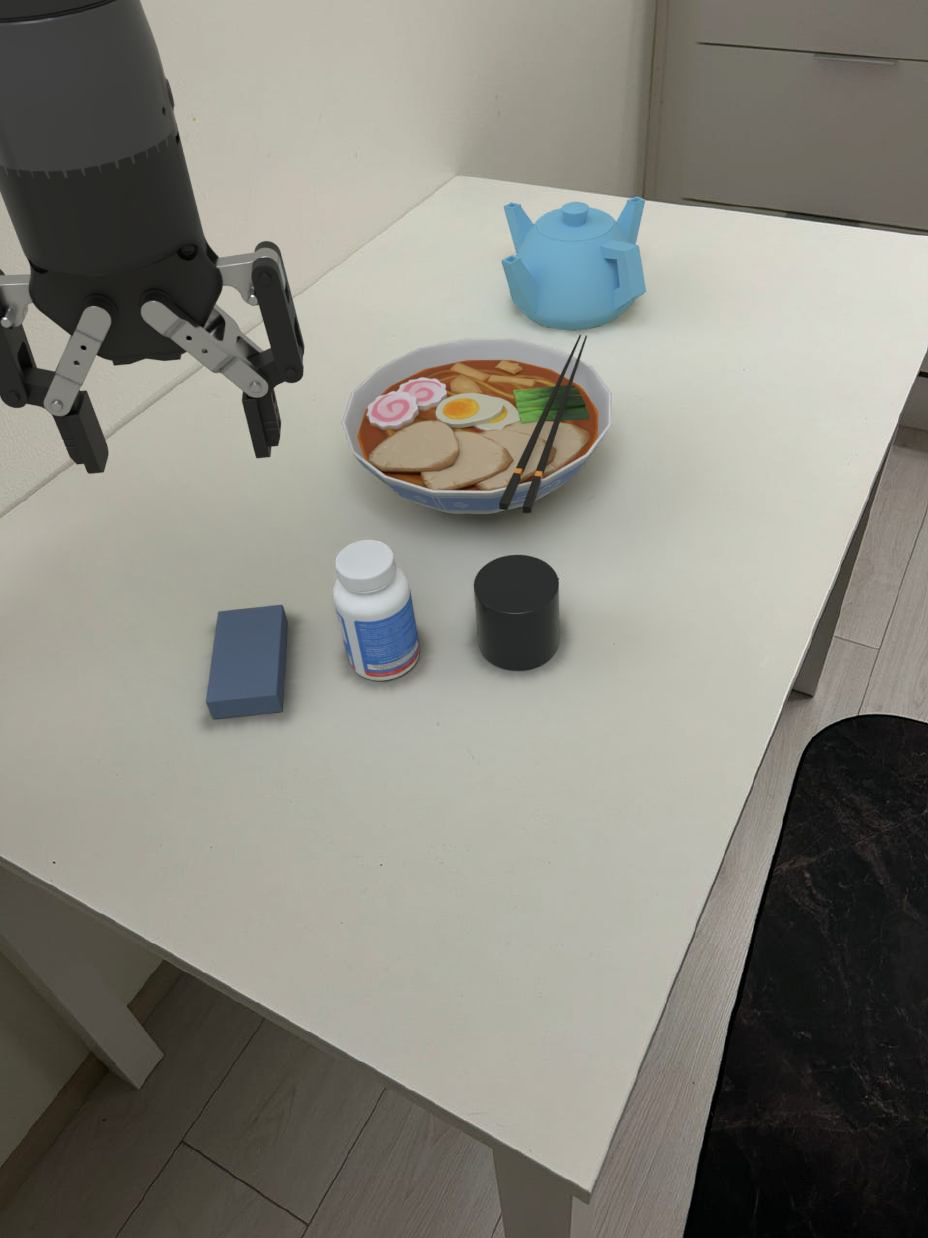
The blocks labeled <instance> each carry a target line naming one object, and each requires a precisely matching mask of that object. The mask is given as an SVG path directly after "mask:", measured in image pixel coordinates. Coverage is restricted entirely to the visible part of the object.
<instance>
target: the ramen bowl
mask: <svg viewBox="0 0 928 1238" xmlns="http://www.w3.org/2000/svg"><path fill="white" fill-rule="evenodd" d="M581 337H582V334H579V335H578V337H577V339H576V342H575V343H574V345H573V348H572V350H571V352H570V353H568V352H566V351H564V350H563V349H561V348H558V347H555V346H551V345H547V344H543V343H538V342H533V341H528V340H525V339H519V338H516V337H479V338H478V337H474V338H473V337H469V338H467V337H465V338H460V339H456V340H451V341H446V342H441V343H437V344H431V345H426V346H422V347H418V348H416V349H413V350H411V351H409V352H407V353H405V354H403V355H401V356H399V357H397V358H395V359H392V360H390V361H389V362H386V363H384V364H383V365H380V366H378V367H377V368H376V369H374V371H373V372H372V373H370V375H368V376H367V377H366V378H365V379H364V380H363V381H362V382H361V383H360V384H359V385H358V386H357V387H355V389H353V391H351V393H350V395H349V397H348V401H347V403H346V407H345V410H344V413H343V416H342V418H341V422H340V423H341V426H342V429H343V433H344V435H345V438H346V441H347V444H348V447H349V450H350V453H351V454H352V455H353V457H354V458H355V459H356V460H357V461H358V462H359V463H360V465H361V466H362V467H364V468H365V469H366V470H367V471H369V472H370V473H371V474H372V475H374V476H375V477H376V478H377V479H379V480H380V481H381V482H382V483H383V484H385V485H386V486H387V487H389V488H390V489H391V490H393V491H394V492H396V493H397V494H398V496H400V497H402V498H404V499H406V500H407V501H409V502H411V503H414V504H417V505H419V506H423V507H426V508H429V509H433V510H436V511H438V512H439V511H440V512H442V513H445V514H455V515H456V514H457V515H458V514H460V515H461V514H462V515H465V514H466V515H492V514H495V513H496V514H498V513H500V512H505V511H509V510H513V509H519V508H521V507H522V514H529V515H531V514H532V512H533V508H534V506H535V502H537V501H538V500H540V499H542V498H543V497H545V496H548V494H550V493H552V492H554V491H556V490H558V489H559V488H560V487H562V486H563V485H565V484H566V483H567V482H569V481H570V480H571V479H572V478H573V477H574V476H575V475H576V474H577V473H578V472H580V470H581V469H582V467H583V466H584V465H585V463H587V461H588V460H589V458H590V457H591V455H593V453H594V451H595V450H596V449H597V448H598V446H599V445H600V444H601V442H602V441H603V440H604V438H605V436H606V435H607V434H608V432H609V430H610V429H611V427H612V426H613V393H612V392H611V390H610V389H609V387H608V386H607V385H606V383H605V382H604V380H603V379H602V378H601V376H600V375H599V373H598V372H597V371H596V369H595V368H594V366H592V365H590V364H588V363H586V362H585V361H583V360H581V357H582V354H583V351H584V347H585V344H586V341H587V338H588V335H585V336H584V339H583V341H582V344H581V347H580V349H579V352H578V355H577V357H575V356H574V354H575V352H576V349H577V347H578V345H579V342H580V340H581Z"/></svg>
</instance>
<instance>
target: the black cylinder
mask: <svg viewBox="0 0 928 1238" xmlns="http://www.w3.org/2000/svg"><path fill="white" fill-rule="evenodd" d="M474 577H475V578H474V580H473V595H474V606H475V616H476V617H475V618H476V619H475V620H476V631H477V642H478V647H479V651H480V653H481V654H482V656H483V657H484V658H485V659H486V661H488V662H489V663H490V664H492V665H494V666H496V667H497V668H500V669H503V670H507V671H515V672H516V671H517V672H520V671H521V672H523V671H528V670H533V669H537V668H538V667H541V666H543V665H544V664H546V663H548V661H550V659H552V658H553V656H555V654H556V653H557V650H558V647H559V645H560V580H559V577H558V574H557V572H556V571H555V569H554V568H553V567H552V566H551V565H550V564H549V563H547V562H546V561H545V560H542V559H540V558H538V557H535V556H531V555H526V554H508V555H504V556H500V557H497V558H494V559H493V560H490V561H489V562H487V563H486V564H485V565H483V566H482V567H481V568H480V569H479V570H478V572H477V573H476V576H474Z"/></svg>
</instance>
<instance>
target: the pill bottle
mask: <svg viewBox="0 0 928 1238" xmlns="http://www.w3.org/2000/svg"><path fill="white" fill-rule="evenodd" d="M334 563H335V564H334V565H335V570H336V577H337V578H336V580H335V583H334V585H333V589H332V599H333V605H334V608H335V612H336V617H337V621H338V625H339V629H340V633H341V636H342V640H343V641H342V642H343V645H344V649H345V653H346V656H347V661H348V662H349V664H350V666H351V668H352V670H353V671H354V672H355V673H356V674H358V675H359V676H360V677H363V678H365V679H366V680H371V681H377V682H378V681H380V682H382V681H389V680H393V679H397V678H399V677H401V676H403V675H405V674H406V673H408V672H409V671H410V670H411V669H412V668H413V667H414V666H415V665H416V664H417V662H418V660H419V657H420V651H421V650H420V640H419V633H418V629H417V623H416V617H415V616H416V615H415V609H414V604H413V598H412V590H411V587H410V582H409V579H408V577H407V575H406V574H405V572H404V571H403V570H402V569H401V568H400V567H398V566H397V563H396V560H395V555H394V552H393V550H392V548H391V547H390V546H389V545H388V544H386V543H384V542H382V541H381V540H376V539H362V540H361V539H360V540H357V541H354V542H351V543H349V544H348V545H346V546H344V547H343V548H342V549H341V550H340V551H339V552H338V553H337V555H336V558H335V561H334Z"/></svg>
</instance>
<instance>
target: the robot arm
mask: <svg viewBox="0 0 928 1238" xmlns="http://www.w3.org/2000/svg"><path fill="white" fill-rule="evenodd" d="M142 4H143V3H142V2H141V0H0V195H1V198H2V201H3V203H4V206H5V208H6V211H7V213H8V216H9V218H10V222H11V224H12V226H13V230H14V232H15V234H16V237H17V239H18V243H19V244H20V248H21V249H22V252H23V254H24V256H25V258H26V260H27V262H28V264H29V270H30V274H26V273H25V274H6V273H5V272H4V271H3V270H2V269H1V268H0V400H1V401H2V402H3V403H4V404H5V405H6V406H7V407H10V408H13V409H21V408H24V407H25V406H26V405H30V406H36V407H39V408H43V409H44V410H46V411H47V412H48V413H49V414H50V415H51V416H52V418H53V420H54V422H55V425H56V429H57V430H58V432H59V435H60V437H61V439H62V441H63V444H64V446H65V448H66V452H67V454H68V456H69V459H71V460H72V461H73V462H74V463H75V464H76V465H84V468H85V471H86V473H87V474H88V475H92V474H102V473H103V474H104V473H105V470H106V466H107V463H108V460H109V459H108V458H109V446H108V443H107V440H106V437H105V435H104V431H103V430H102V427H101V424H100V422H99V419H98V416H97V413H96V411H95V408H94V405H93V403H92V400H91V397H90V395H89V393H88V390H86V389H85V390H81V387H82V386H83V384H84V383H85V380H86V378H87V376H88V374H89V372H90V370H91V367H92V366H93V363H94V361H95V359H96V357H99V358H101V359H103V360H107V361H110V362H112V364H113V366H114V367H115V366H125V365H127V366H128V365H132V364H135V363H138V362H140V361H143V360H153V361H159V362H160V361H161V362H171V361H180V360H181V359H182V355H184V354H186V353H188V354H189V355H190V356H191V357H193V358H194V359H195V360H196V361H198V362H199V363H200V364H201V365H202V366H203V367H205V368H206V369H207V370H209V371H210V372H211V373H213V374H221V375H223V377H225V378H226V379H228V380H229V382H231V383H233V384H234V385H235V386H236V387H237V388H239V389H240V391H242V395H241V403H242V404H241V405H242V408H243V412H244V415H245V419H246V424H247V427H248V428H247V429H248V432H249V436H250V440H251V443H252V448H253V452H254V456H255V458H256V459H267V458H271V457H272V455H271V454H272V447H273V448H274V447H279V444H280V440H281V435H282V434H281V431H282V419H281V418H282V417H281V414H280V410H279V406H278V400H277V395H276V391H275V388H276V387H277V386H278V385H281V384H283V383H287V384H296V383H298V382H300V381H301V380H302V379H303V377H304V368H305V367H304V356H305V342H304V338H303V335H302V329H301V326H300V322H299V318H298V315H297V311H296V307H295V303H294V298H293V295H292V290H291V287H290V284H289V279H288V276H287V272H286V268H285V264H284V259H283V256H282V252H281V249H280V247H279V246H278V245H277V244H276V243H275V242H273V241H269V240H263V241H260V242H258V243H257V245H256V246H255V248H254V252H248V253H242V254H241V253H240V254H235V255H229V256H222V257H219V255H218V254H217V253H216V252H215V251H214V250H213V248H212V247H211V246H210V244H209V243H208V241H207V239H206V237H205V233H204V229H203V225H202V221H201V217H200V213H199V209H198V205H197V200H196V198H195V193H194V189H193V185H192V181H191V177H190V173H189V168H188V165H187V160H186V157H185V151H184V148H183V143H182V140H181V136H180V135H181V134H180V132H179V127H178V123H177V119H176V115H175V106H176V105H175V99H174V95H173V92H172V88H171V85H170V81H169V79H168V78H167V76H166V75H165V71H164V66H163V63H162V59H161V55H160V52H159V48H158V46H157V42H156V39H155V36H154V34H153V31H152V28H151V26H150V25H151V24H150V23H149V20H148V18H147V15H146V13H145V10H144V7H143V5H142ZM223 287H232V288H233V289H235V290H236V291H237V292H238V293H239V294H240V296H241V299H242V300H243V301H244V302H245V303H246V304H248V305H249V306H253V307H255V306H258V308H259V311H260V314H261V318H262V322H263V325H264V329H265V332H266V336H267V340H268V343H269V346H270V348H267V349H264V350H263V349H262V348H261V347H260V346H258V344H257V343H255V342H254V341H253V340H251V339H250V338H249V337H248V336H247V335H246V334H245V333H244V332H243V331H242V330H241V328H240V327H239V324H238V323H237V322H236V320H235V319H234V318H233V317H232V316H231V315H229V314H228V312H226V311H225V310H224V309H223V308H222V307H220V306H219V305H218V304H217V303H218V301H219V299H220V296H221V294H222V292H223ZM30 304H33V306H34V307H35V308H36V309H37V310H38V311H39V312H40V313H42V315H44V316H45V317H47V318H48V319H49V320H50V321H51V322H53V323H54V324H56V325H57V326H58V327H59V328H61V329H62V330H63V331H64V332H66V333H67V334H68V335H69V338H68V340H67V342H66V345H65V347H64V350H63V352H62V354H61V356H60V358H59V361H58V363H57V366H56V368H55V370H50V369H45V368H40V367H38V366H37V363H36V360H35V358H34V354H33V351H32V348H31V345H30V343H29V340H28V336H27V334H26V331H25V328H24V321H25V318H26V316H27V314H28V312H29V305H30Z"/></svg>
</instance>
